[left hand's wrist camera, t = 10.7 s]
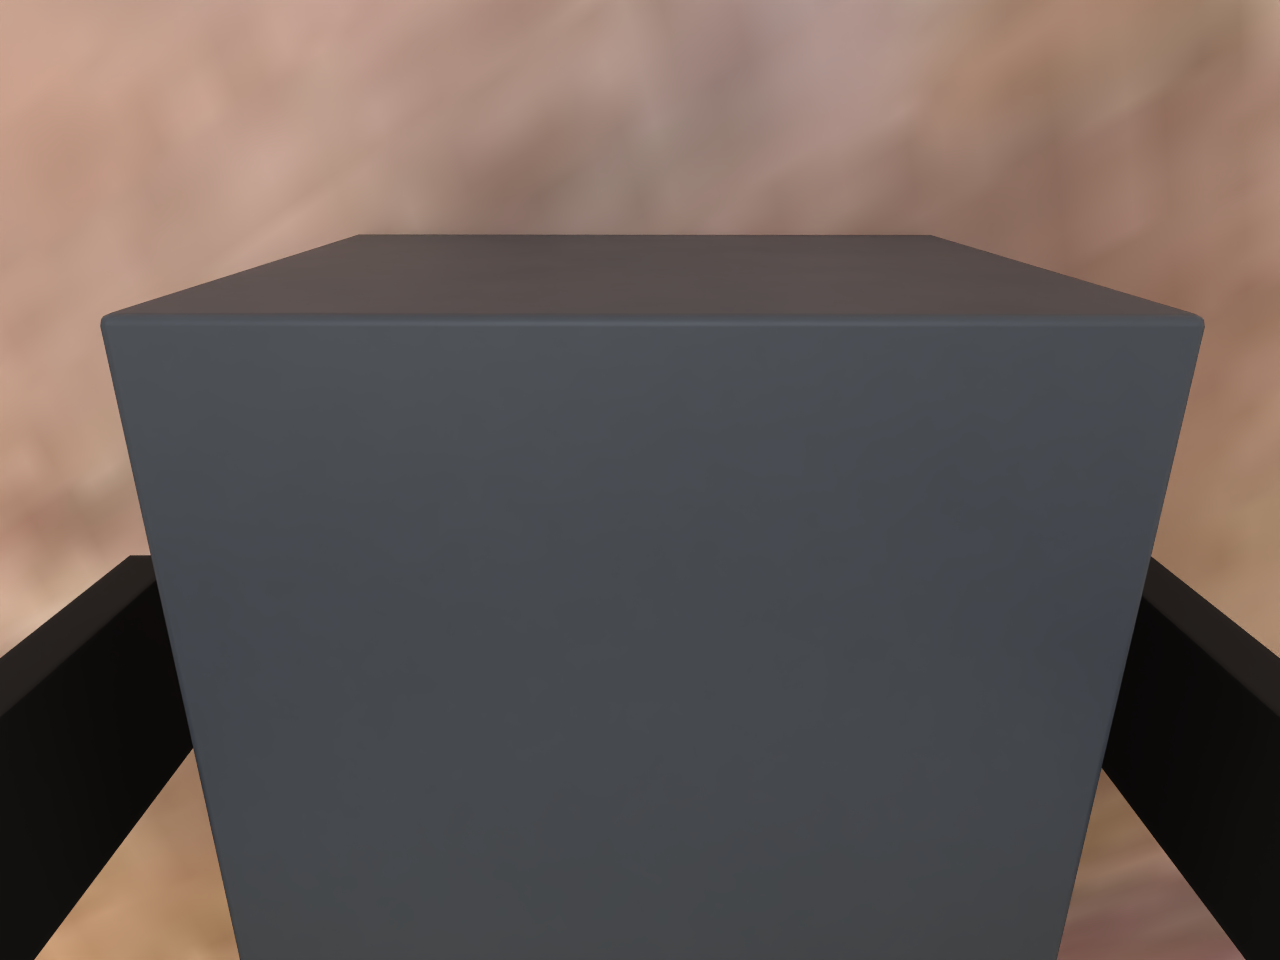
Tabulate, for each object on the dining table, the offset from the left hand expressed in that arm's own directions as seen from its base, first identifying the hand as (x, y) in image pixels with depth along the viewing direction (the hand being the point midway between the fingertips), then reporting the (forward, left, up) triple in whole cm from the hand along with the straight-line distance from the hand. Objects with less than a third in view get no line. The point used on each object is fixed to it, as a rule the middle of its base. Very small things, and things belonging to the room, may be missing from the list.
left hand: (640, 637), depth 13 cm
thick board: (-25, +11, -4) cm, 28 cm away
